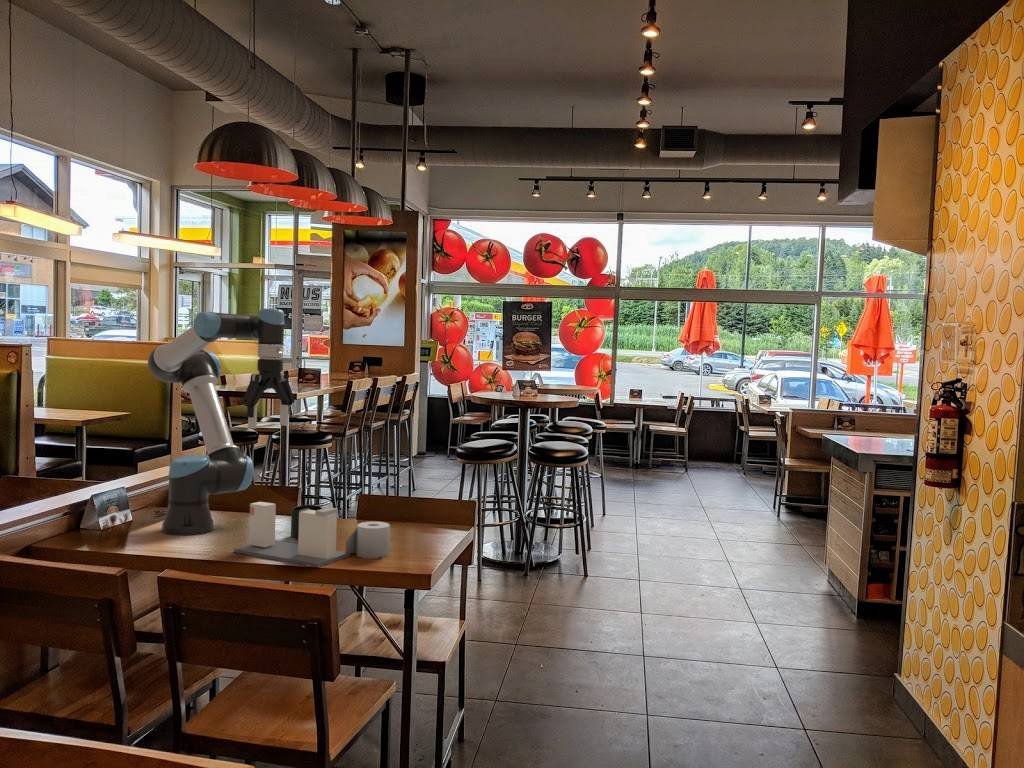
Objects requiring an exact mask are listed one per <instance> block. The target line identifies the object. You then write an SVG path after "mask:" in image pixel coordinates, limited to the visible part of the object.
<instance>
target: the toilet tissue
mask: <svg viewBox="0 0 1024 768" xmlns="http://www.w3.org/2000/svg"><path fill="white" fill-rule="evenodd" d="M390 540H391V525H390V523H389V522H383V521H363V522H360V523H357V524H356V528H355V530H354V531H353V532H352V533H351V534H350V536H349V537H348V538H347V539H346V541H345V552H348V553H350V554H357V555H356V556H357V557H358V556H359V558H362V557H365V558H364V559H380V558H379V557H382V558H385V556H386V557H387V555H388V554H389V555H390ZM389 555H388V556H389Z"/></svg>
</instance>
